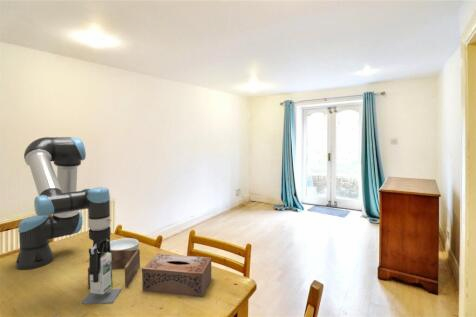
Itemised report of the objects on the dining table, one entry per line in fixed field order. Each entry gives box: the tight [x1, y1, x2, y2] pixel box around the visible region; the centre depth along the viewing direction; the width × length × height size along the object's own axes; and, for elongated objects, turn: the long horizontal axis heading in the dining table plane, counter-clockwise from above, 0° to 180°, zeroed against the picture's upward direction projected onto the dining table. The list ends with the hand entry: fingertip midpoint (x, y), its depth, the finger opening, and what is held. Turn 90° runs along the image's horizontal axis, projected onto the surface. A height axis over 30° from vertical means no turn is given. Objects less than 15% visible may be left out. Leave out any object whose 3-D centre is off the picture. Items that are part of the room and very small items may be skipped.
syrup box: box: [90, 252, 114, 294], centre depth 105 cm, size 6×6×14 cm
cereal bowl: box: [110, 237, 140, 250], centre depth 142 cm, size 17×17×7 cm
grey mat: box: [79, 288, 122, 305], centre depth 105 cm, size 12×9×1 cm
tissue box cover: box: [141, 253, 212, 298], centre depth 114 cm, size 26×14×10 cm, turn 81°
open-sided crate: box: [87, 248, 141, 290], centre depth 120 cm, size 16×18×9 cm
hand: (101, 283), depth 105 cm, fingers closed on syrup box, 7 cm apart
